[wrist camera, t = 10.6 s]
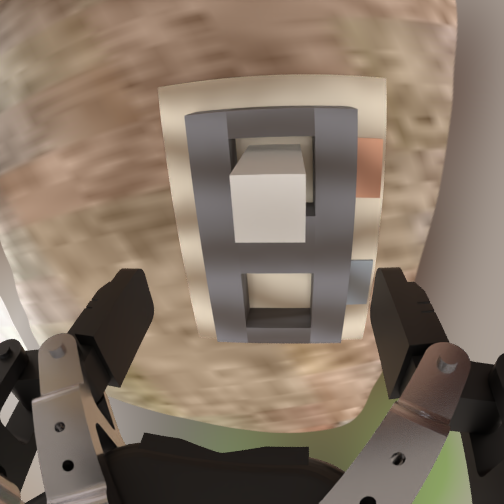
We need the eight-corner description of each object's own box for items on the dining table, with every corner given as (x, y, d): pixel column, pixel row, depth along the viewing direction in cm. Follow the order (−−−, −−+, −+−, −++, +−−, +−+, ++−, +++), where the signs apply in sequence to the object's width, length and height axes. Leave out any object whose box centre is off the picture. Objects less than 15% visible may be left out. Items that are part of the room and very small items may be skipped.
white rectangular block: (248, 145, 25) (229, 175, 17) (299, 143, 24) (305, 173, 17) (251, 192, 27) (235, 242, 19) (300, 191, 26) (305, 242, 18)
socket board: (161, 87, 24) (142, 88, 20) (382, 78, 22) (398, 77, 18) (201, 331, 36) (193, 356, 33) (361, 332, 34) (366, 358, 31)
